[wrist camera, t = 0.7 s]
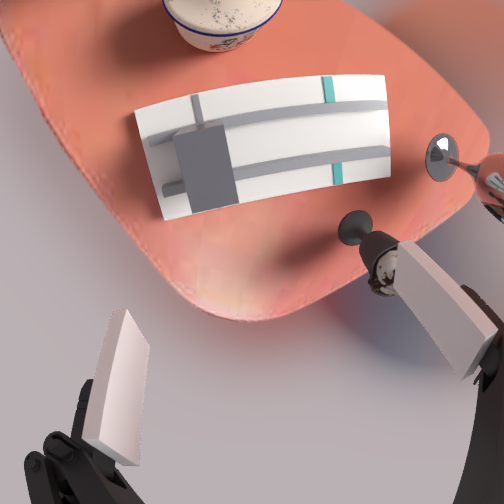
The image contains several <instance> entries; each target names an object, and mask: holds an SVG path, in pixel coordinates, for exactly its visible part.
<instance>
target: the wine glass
mask: <svg viewBox="0 0 504 504" xmlns="http://www.w3.org/2000/svg"><path fill="white" fill-rule="evenodd" d="M426 166H427V170H428V173H429V175H430V176H431V177H432V178H433V179H434V180H435V181H438V182H444V181H446V180H448V179H450V178H451V177H452V176H453V174H454V173H455V171H456V169H457V167H459V168H461V169H462V170H464V171H465V172H467V173H468V174H469V175H470V176H471V178H472V180H473V183H474V186H475V190H476V193H477V196H478V198H479V200H480V202H481V203H482V204H483V206H484V207H485V208H486V209H487V210H488V211H489V212H490V213H491V214H492V215H493V216H495V218H497V219H498V220H499V221H500V222H502V223H503V224H504V153H491V154H489V155H487V156H485V157H484V158H483V159H482V160H480V161H479V162H478V163H476V164H467V163H463V162H459V149H458V146H457V143H456V141H455V140H454V138H453V137H451V136H450V135H448V134H439V135H437V136H436V137H434V138H433V140H432V141H431V142H430V144H429V147H428V149H427V153H426Z"/></svg>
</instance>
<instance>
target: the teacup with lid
mask: <svg viewBox="0 0 504 504" xmlns="http://www.w3.org/2000/svg"><path fill="white" fill-rule="evenodd" d="M162 2H163V5H164V8H165V10H166V12H167V13H168V15H169V16H170V17H171V18H172V19H173V20H174V22H175V24H176V27H177V29H178V31H179V33H180V35H181V36H182V37H183V38H184V39H185V40H186V41H187V42H188V43H189V44H191V45H192V46H194V47H196V48H199V49H201V50H205V51H210V52H224V51H230V50H233V49H236V48H239V47H241V46H243V45H245V44H246V43H248V42H249V41H250V40H251V39H252V38H253V37H254V36H255V35H256V34H257V32H258V31H259V30H260V28H261V27H262V26H263V25H264V24H265V23H267V22H268V21H269V20H270V19H271V18H272V17H273V16H274V15H275V14H276V12H277V11H278V10H279V8H280V6H281V3H282V0H162Z"/></svg>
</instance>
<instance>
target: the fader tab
mask: <svg viewBox="0 0 504 504" xmlns="http://www.w3.org/2000/svg"><path fill="white" fill-rule="evenodd" d="M172 137H173V141H174V145H175V149H176V153H177V157H178V161H179V165H180V169H181V173H182V177H183V181H184V185H185V189H186V192H187V196H188V200H189V204H190V207H191V211H192V214H194V213H198V212H202V211H207V210H211V209H216V208H220V207H224V206H229V205H234V204H238V203H239V199H238V194H237V189H236V184H235V179H234V174H233V169H232V164H231V159H230V154H229V149H228V144H227V139H226V134H225V129H224V124H223V123H222V121H221V120H217V121H212V122H208V123H203V124H199V125H195V126H191V127H187V128H183V129H180V130H179V131H178V132H177V133H176V134H175V135H173V136H172Z"/></svg>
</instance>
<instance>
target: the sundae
mask: <svg viewBox="0 0 504 504" xmlns="http://www.w3.org/2000/svg"><path fill="white" fill-rule="evenodd" d="M372 227H373V223H372V219H371V217H370V215H369V214H368V213H366V212H365V211H354V212H351V213H350V214H348V215H347V216H346V217H345V218H344V219H343V221H342V222H341V225H340V228H339V236H340V238H341V240H342V242H343V243H345V244H347V245H350V246H355V245H358V244H360V247H359V253H360V256H361V258H362V260H363V263H364V264H365V266H366V268H367V270H368V271H369V273H370V279H369V280H368V284H369V285H370V287H371V290H372V291H373V292H374V293H375V294H378V295H380V296H394V295H398V296H400V295H399V294H398V292H397V291H396V290H395V289H394V287H393V284H394V276H395V268H396V259H397V250H398V243H399V242H400V241H398V240H396V239H395V238H393V237H391V236H390V235H388V234H386V233H384V232H382V231H373V232H371V231H372Z"/></svg>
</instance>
